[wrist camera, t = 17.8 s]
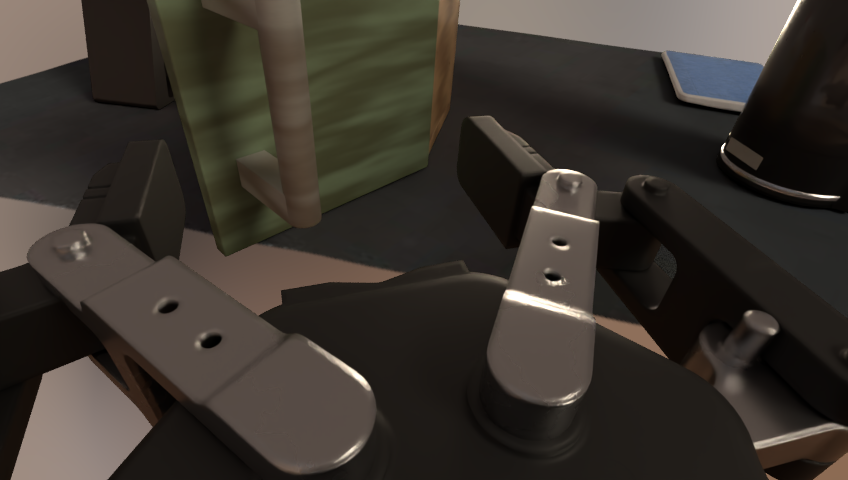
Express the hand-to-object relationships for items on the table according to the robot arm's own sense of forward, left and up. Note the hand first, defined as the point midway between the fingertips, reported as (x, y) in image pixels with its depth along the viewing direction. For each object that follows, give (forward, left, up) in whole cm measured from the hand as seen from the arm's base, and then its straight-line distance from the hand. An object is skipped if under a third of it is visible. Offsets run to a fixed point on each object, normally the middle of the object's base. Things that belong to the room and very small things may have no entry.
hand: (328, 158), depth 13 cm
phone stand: (+37, -12, -11) cm, 40 cm away
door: (+7, -9, -10) cm, 16 cm away
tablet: (-5, -58, -11) cm, 59 cm away
